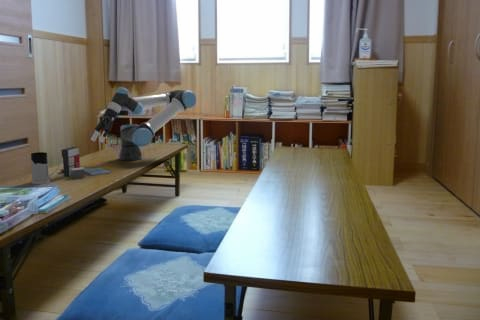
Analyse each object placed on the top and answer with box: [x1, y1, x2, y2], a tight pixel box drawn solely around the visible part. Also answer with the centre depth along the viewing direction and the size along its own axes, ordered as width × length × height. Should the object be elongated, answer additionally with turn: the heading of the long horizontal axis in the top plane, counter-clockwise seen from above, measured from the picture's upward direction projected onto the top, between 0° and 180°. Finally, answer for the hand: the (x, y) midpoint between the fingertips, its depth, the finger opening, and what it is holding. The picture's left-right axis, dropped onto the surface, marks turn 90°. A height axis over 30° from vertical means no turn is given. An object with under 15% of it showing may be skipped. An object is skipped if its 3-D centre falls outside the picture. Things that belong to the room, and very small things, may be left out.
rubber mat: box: [84, 167, 112, 176], centre depth 254 cm, size 11×16×1 cm
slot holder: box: [59, 166, 85, 179], centre depth 245 cm, size 6×20×5 cm, turn 41°
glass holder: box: [30, 151, 61, 185], centre depth 226 cm, size 9×14×15 cm, turn 111°
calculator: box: [61, 146, 81, 178], centre depth 244 cm, size 11×4×15 cm, turn 168°
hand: (96, 141), depth 265 cm, fingers open, 13 cm apart
